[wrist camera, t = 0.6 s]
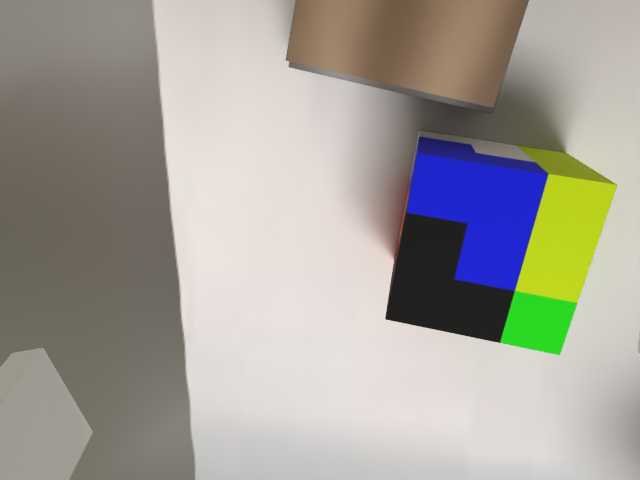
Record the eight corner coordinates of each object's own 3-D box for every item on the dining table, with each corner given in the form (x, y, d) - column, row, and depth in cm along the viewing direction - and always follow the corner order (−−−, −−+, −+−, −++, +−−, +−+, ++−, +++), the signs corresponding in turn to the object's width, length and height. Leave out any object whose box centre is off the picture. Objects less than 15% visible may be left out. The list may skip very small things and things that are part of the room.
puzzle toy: (419, 130, 36) (417, 152, 27) (565, 152, 35) (617, 184, 26) (394, 259, 40) (385, 319, 31) (526, 284, 39) (559, 355, 29)
